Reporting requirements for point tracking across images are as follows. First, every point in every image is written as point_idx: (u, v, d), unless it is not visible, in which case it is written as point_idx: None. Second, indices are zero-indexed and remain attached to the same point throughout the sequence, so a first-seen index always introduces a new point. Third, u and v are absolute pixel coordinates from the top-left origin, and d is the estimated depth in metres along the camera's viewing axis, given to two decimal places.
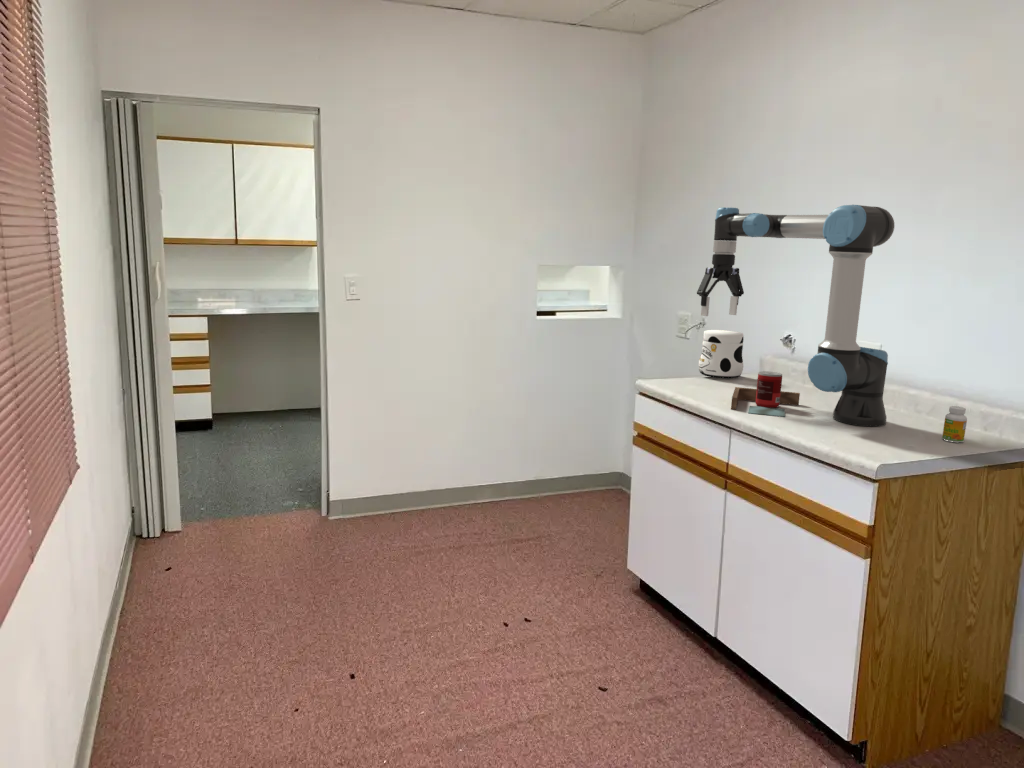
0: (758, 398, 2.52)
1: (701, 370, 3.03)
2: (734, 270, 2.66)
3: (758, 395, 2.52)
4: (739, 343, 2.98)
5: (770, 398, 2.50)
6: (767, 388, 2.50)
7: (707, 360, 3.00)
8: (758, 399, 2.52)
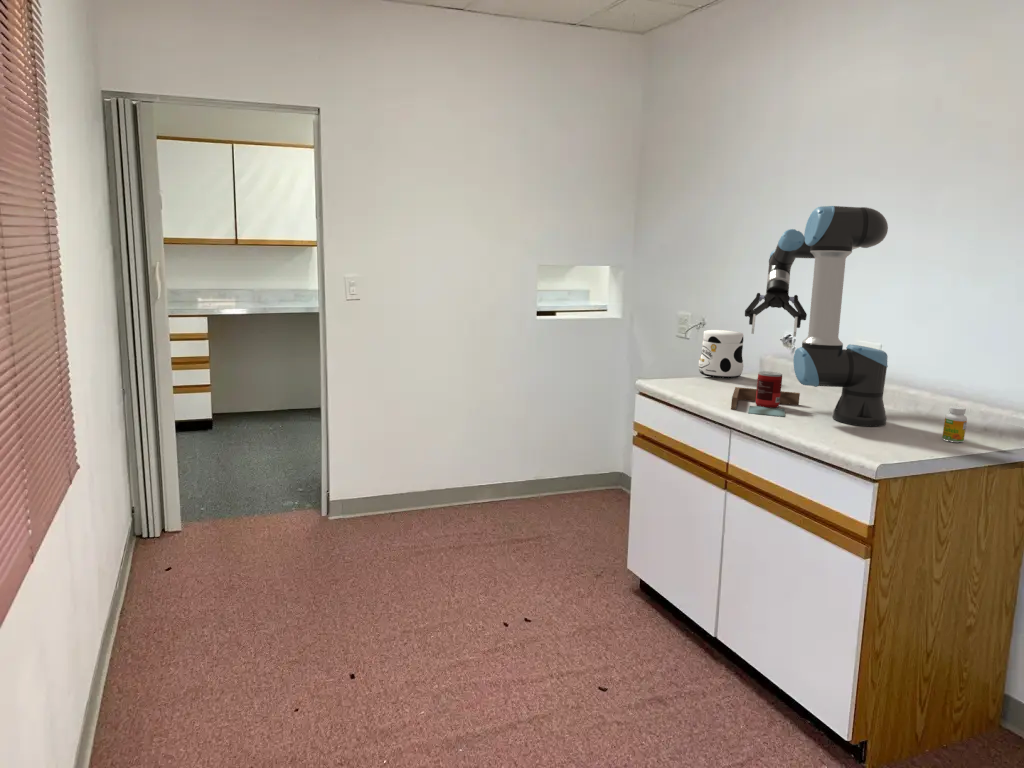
0: (758, 398, 2.52)
1: (701, 370, 3.03)
2: (792, 298, 2.66)
3: (758, 395, 2.52)
4: (739, 343, 2.98)
5: (770, 398, 2.50)
6: (767, 388, 2.50)
7: (707, 360, 3.00)
8: (758, 399, 2.52)
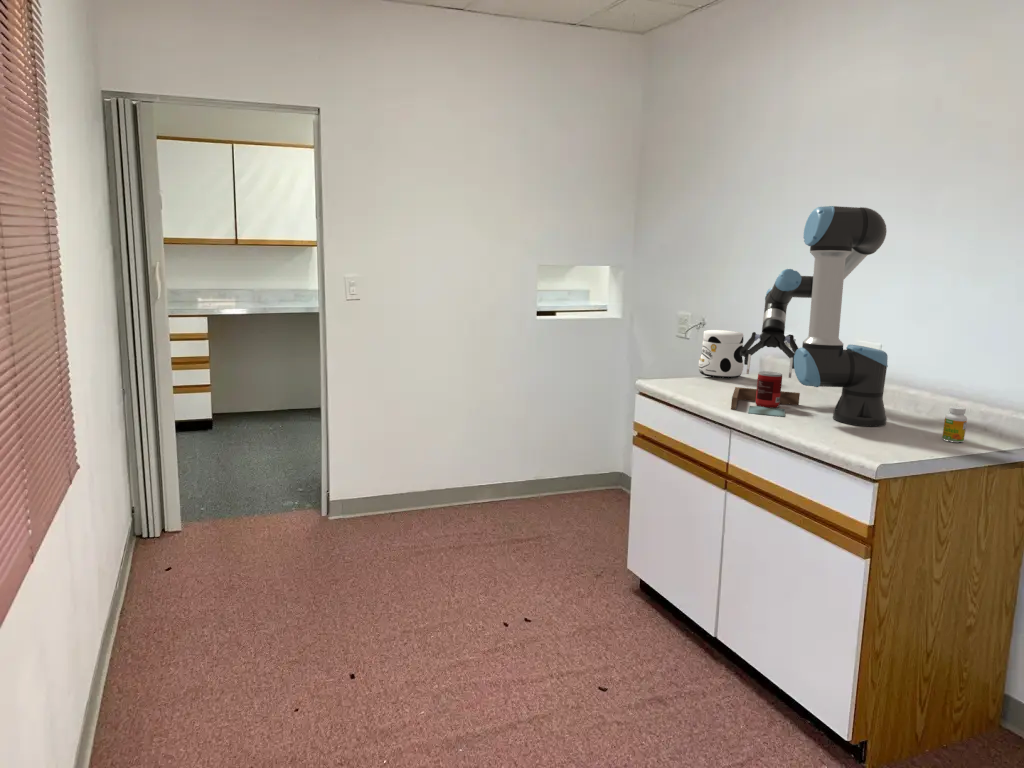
0: (758, 398, 2.52)
1: (701, 370, 3.03)
2: (788, 337, 2.64)
3: (758, 395, 2.52)
4: (739, 343, 2.98)
5: (770, 398, 2.50)
6: (767, 388, 2.50)
7: (707, 360, 3.00)
8: (758, 399, 2.52)
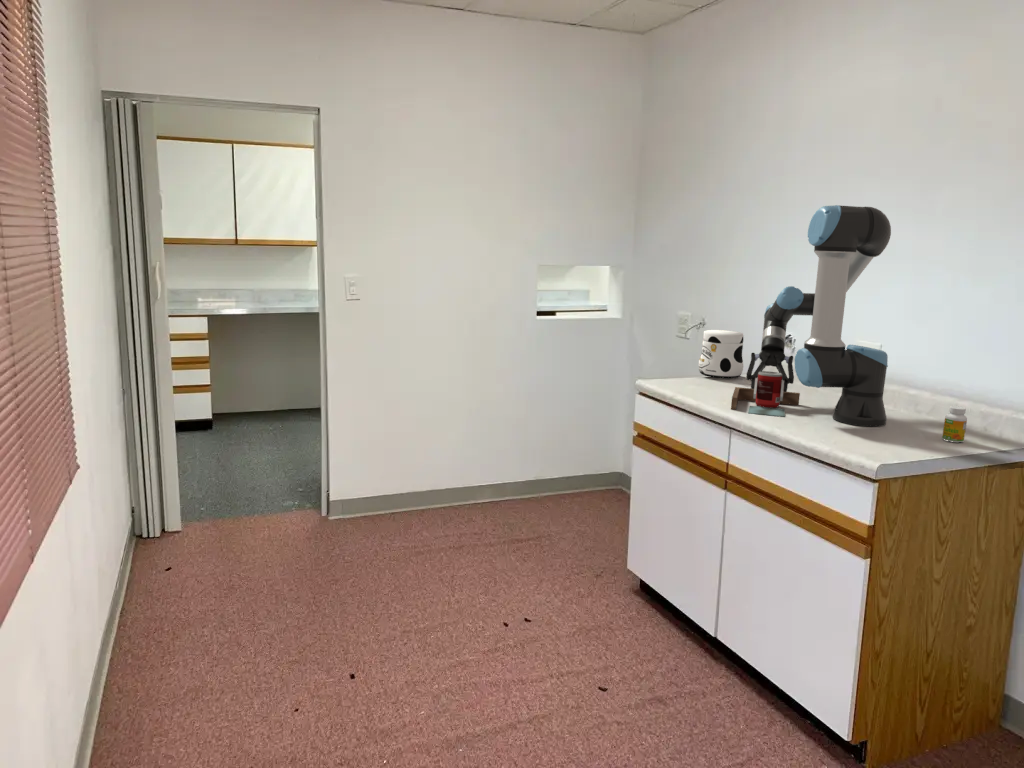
0: (758, 398, 2.52)
1: (701, 370, 3.03)
2: (788, 358, 2.57)
3: (758, 395, 2.52)
4: (739, 343, 2.98)
5: (770, 398, 2.50)
6: (767, 388, 2.50)
7: (707, 360, 3.00)
8: (758, 399, 2.52)
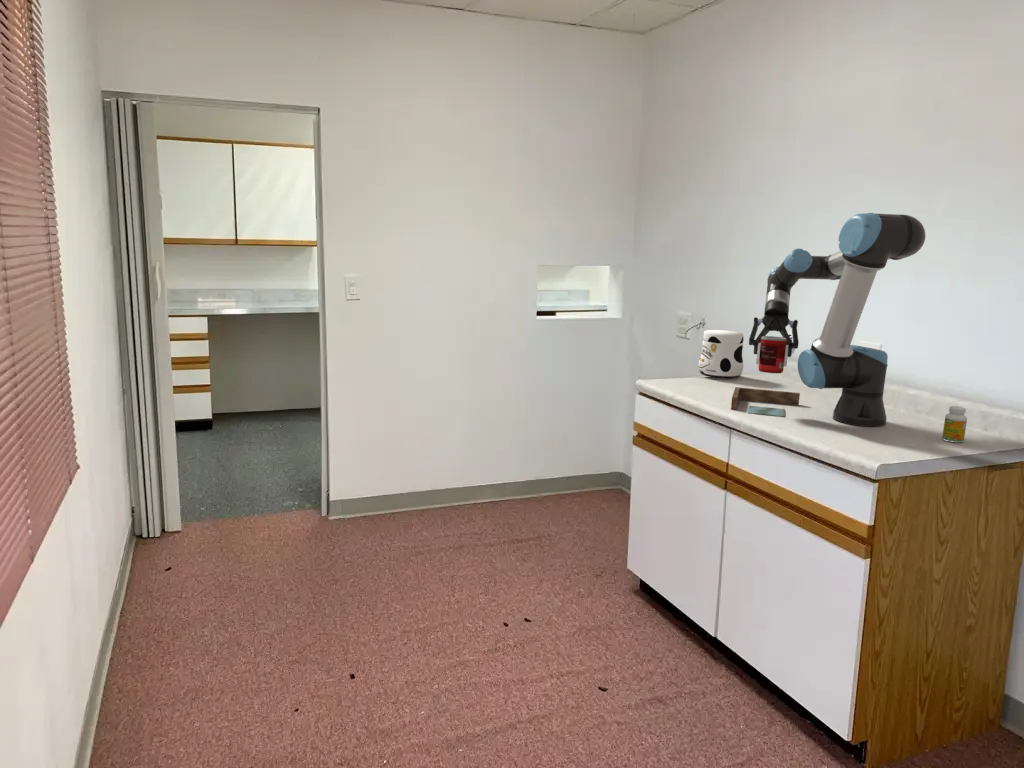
0: (761, 364, 2.42)
1: (701, 370, 3.03)
2: (792, 322, 2.46)
3: (761, 360, 2.42)
4: (739, 343, 2.98)
5: (774, 363, 2.39)
6: (771, 352, 2.39)
7: (707, 360, 3.00)
8: (761, 365, 2.42)
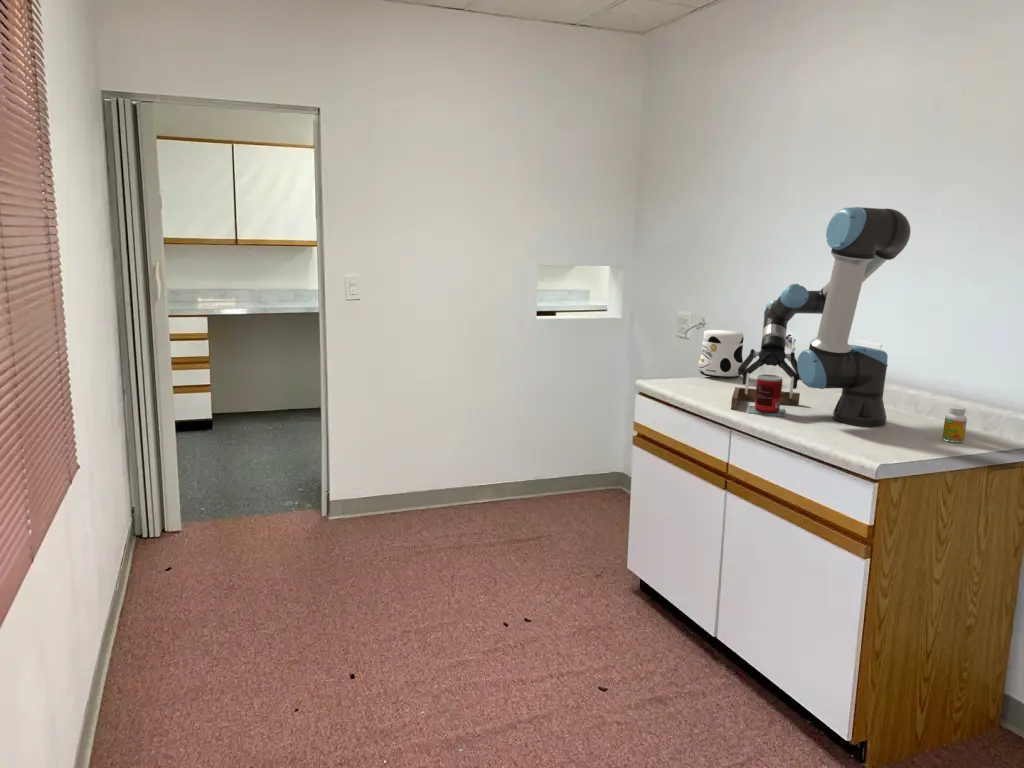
0: (757, 403, 2.44)
1: (701, 370, 3.03)
2: (789, 355, 2.49)
3: (757, 400, 2.44)
4: (739, 343, 2.98)
5: (770, 404, 2.41)
6: (767, 393, 2.41)
7: (707, 360, 3.00)
8: (757, 404, 2.44)
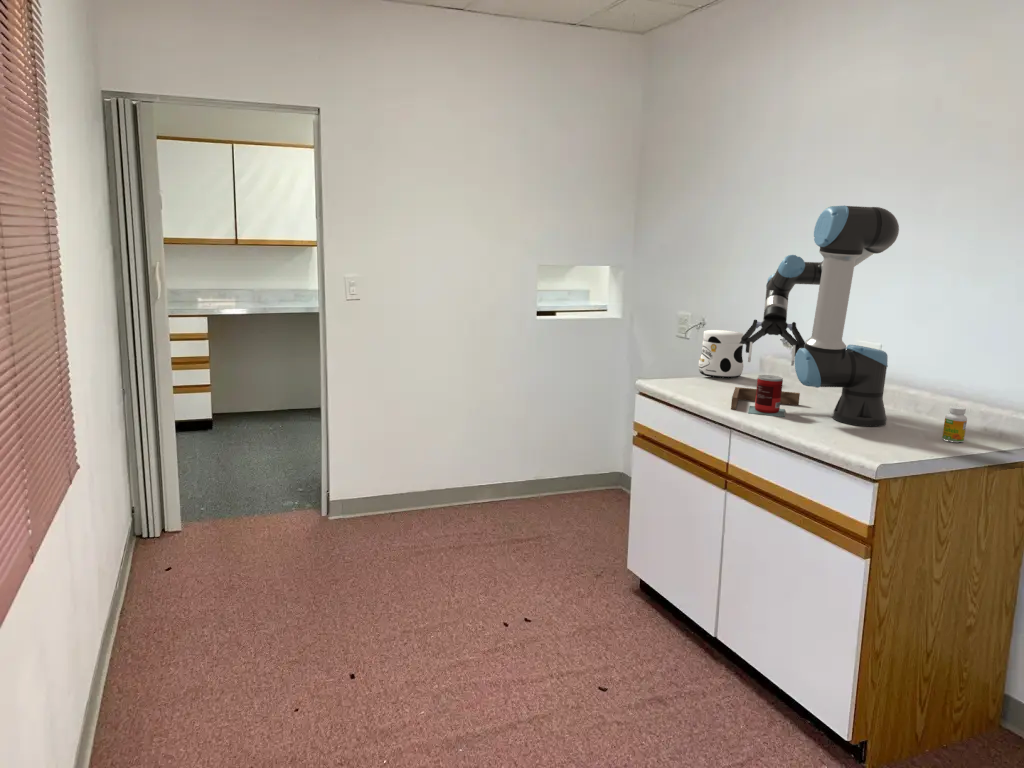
0: (757, 403, 2.44)
1: (701, 370, 3.03)
2: (790, 325, 2.58)
3: (757, 400, 2.44)
4: (739, 343, 2.98)
5: (770, 403, 2.41)
6: (767, 393, 2.41)
7: (707, 360, 3.00)
8: (757, 404, 2.44)
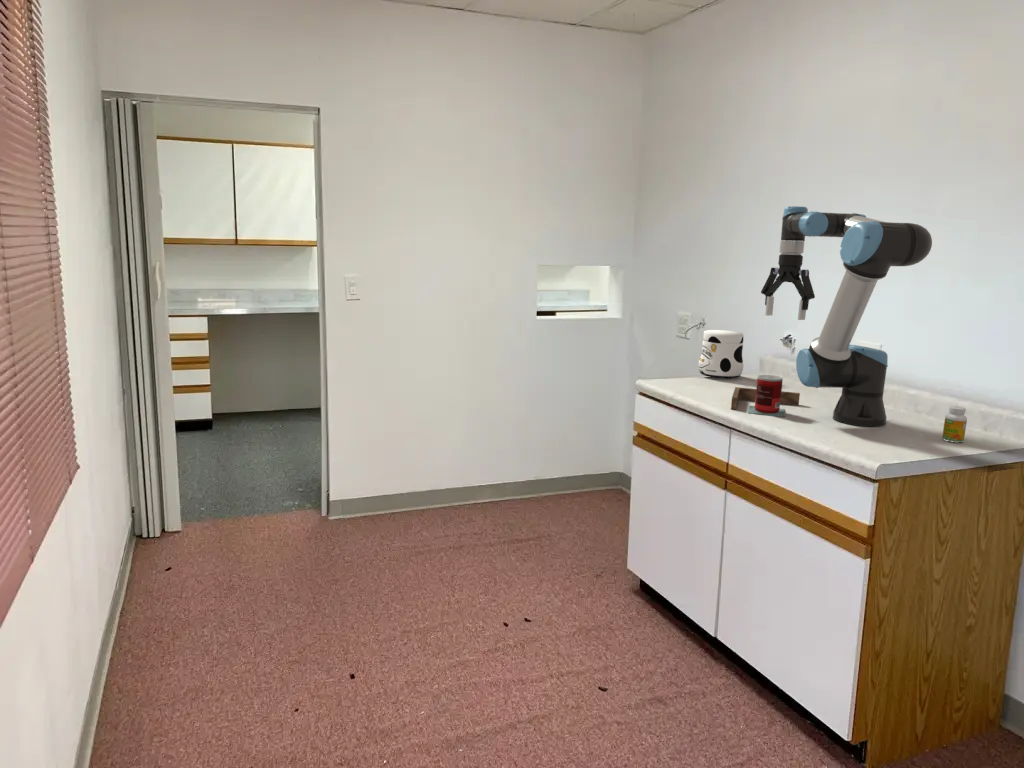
0: (757, 403, 2.44)
1: (701, 370, 3.03)
2: None
3: (757, 400, 2.44)
4: (739, 343, 2.98)
5: (770, 404, 2.41)
6: (767, 393, 2.41)
7: (707, 360, 3.00)
8: (757, 404, 2.44)
